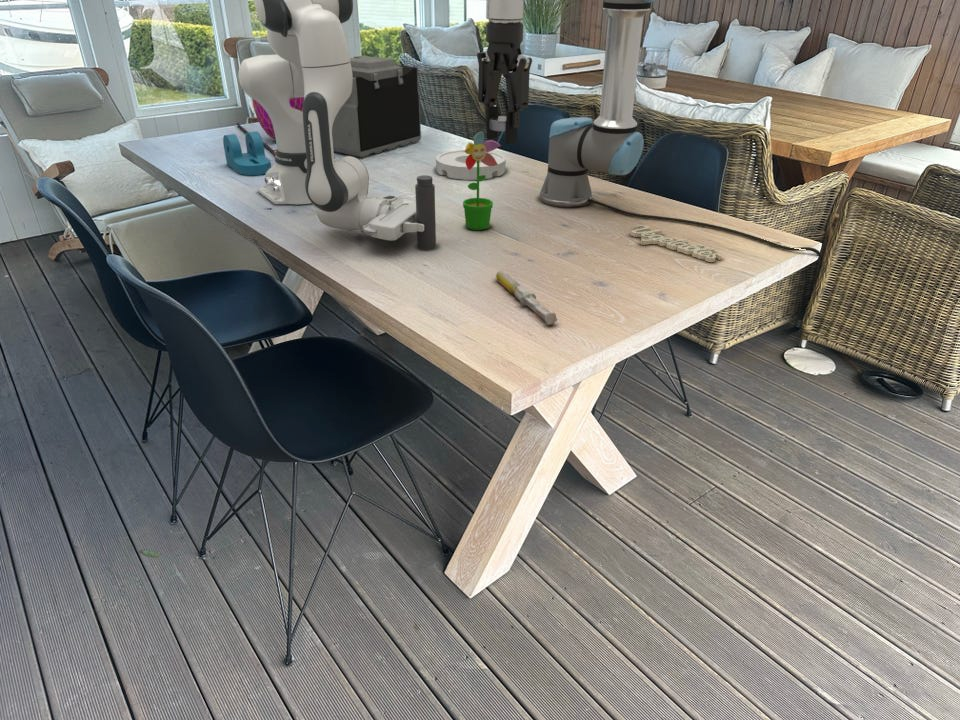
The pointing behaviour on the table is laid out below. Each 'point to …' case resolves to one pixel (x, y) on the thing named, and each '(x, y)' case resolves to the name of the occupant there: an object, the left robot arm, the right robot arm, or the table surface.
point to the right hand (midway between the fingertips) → (501, 140)
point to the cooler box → (378, 108)
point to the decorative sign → (674, 243)
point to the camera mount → (246, 154)
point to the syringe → (525, 297)
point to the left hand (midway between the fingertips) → (429, 223)
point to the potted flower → (478, 207)
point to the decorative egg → (265, 119)
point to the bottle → (425, 212)
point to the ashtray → (457, 168)
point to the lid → (498, 123)
